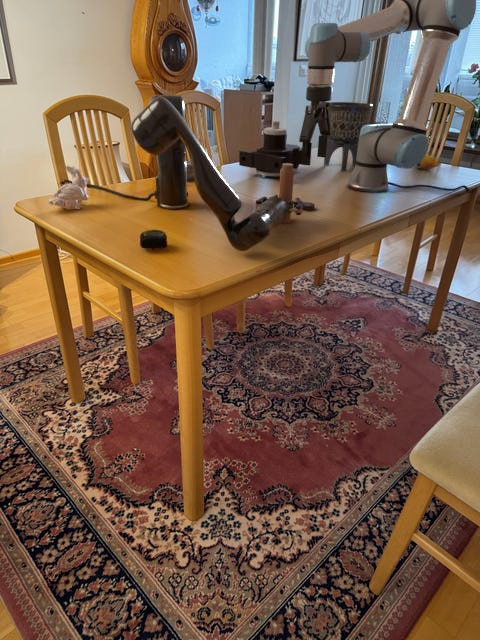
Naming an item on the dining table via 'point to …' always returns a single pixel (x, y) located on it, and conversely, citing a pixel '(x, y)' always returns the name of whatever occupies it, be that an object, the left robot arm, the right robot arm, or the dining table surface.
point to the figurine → (71, 191)
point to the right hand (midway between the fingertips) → (313, 160)
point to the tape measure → (153, 239)
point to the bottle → (286, 185)
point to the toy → (428, 162)
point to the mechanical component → (272, 153)
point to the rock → (189, 171)
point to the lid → (308, 206)
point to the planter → (346, 129)
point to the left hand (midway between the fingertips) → (287, 199)
